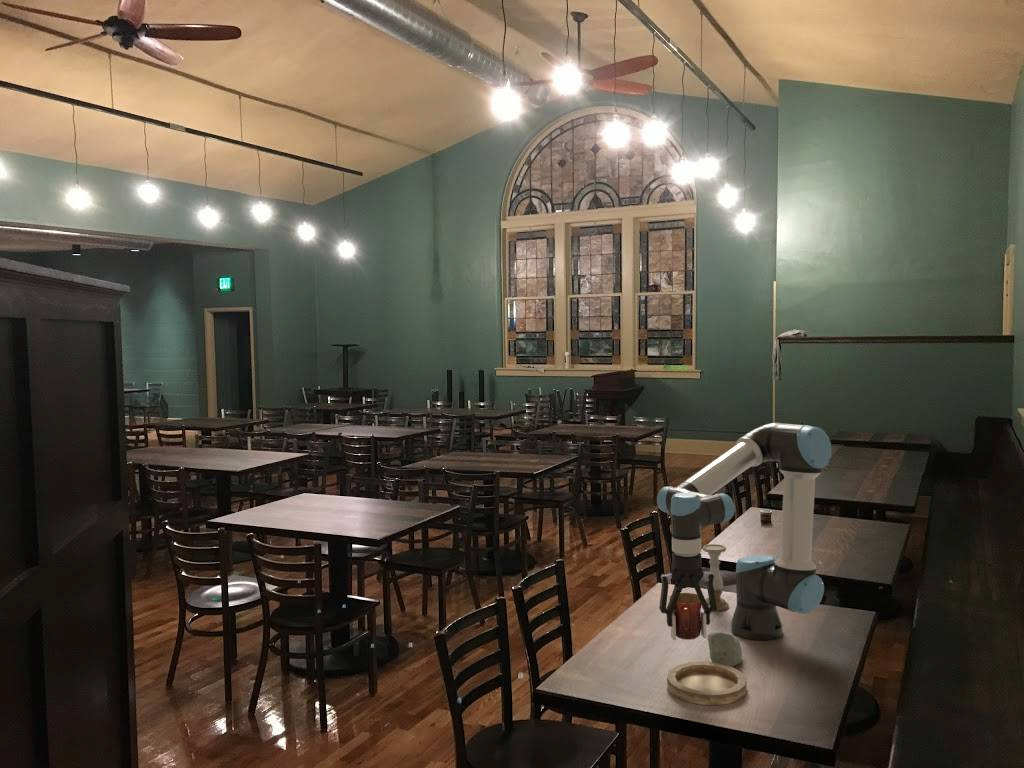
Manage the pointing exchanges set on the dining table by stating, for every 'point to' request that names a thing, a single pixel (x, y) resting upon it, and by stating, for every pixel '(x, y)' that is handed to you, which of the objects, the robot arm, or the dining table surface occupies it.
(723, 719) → the dining table surface
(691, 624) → the mug
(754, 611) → the robot arm
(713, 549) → the candle holder
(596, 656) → the dining table surface
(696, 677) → the round tray
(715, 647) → the decorative stone
